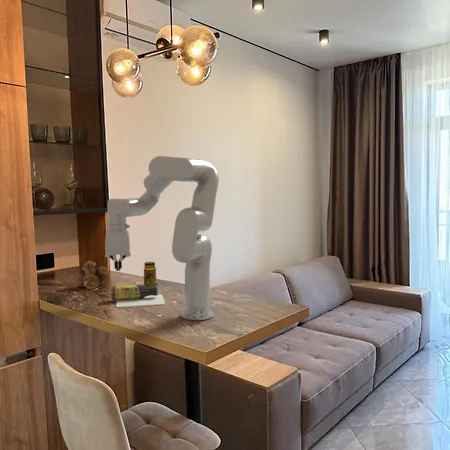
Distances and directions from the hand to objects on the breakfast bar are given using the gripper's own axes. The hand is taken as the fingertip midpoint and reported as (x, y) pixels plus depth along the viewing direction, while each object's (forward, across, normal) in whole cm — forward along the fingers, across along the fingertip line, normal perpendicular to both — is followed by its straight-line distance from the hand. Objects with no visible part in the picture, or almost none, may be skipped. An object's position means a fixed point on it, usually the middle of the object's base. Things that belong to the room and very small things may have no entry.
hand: (118, 270), depth 181 cm
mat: (+14, -9, 0) cm, 17 cm away
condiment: (+14, -15, -29) cm, 36 cm away
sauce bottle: (+11, +3, -3) cm, 11 cm away
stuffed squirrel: (+14, +13, -34) cm, 39 cm away
